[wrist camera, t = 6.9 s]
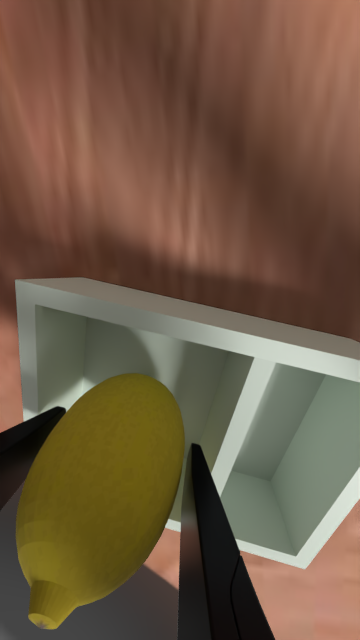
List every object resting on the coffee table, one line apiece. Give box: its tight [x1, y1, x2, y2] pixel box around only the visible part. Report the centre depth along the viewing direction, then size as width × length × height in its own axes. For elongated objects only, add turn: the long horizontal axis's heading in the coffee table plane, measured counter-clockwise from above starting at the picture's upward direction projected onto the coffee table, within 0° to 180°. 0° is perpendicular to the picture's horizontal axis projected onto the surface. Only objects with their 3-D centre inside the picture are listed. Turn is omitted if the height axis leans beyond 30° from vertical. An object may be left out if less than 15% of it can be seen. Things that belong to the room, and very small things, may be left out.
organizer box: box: [15, 277, 360, 569], centre depth 10 cm, size 16×12×4 cm
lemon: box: [16, 373, 185, 629], centre depth 8 cm, size 6×6×8 cm
